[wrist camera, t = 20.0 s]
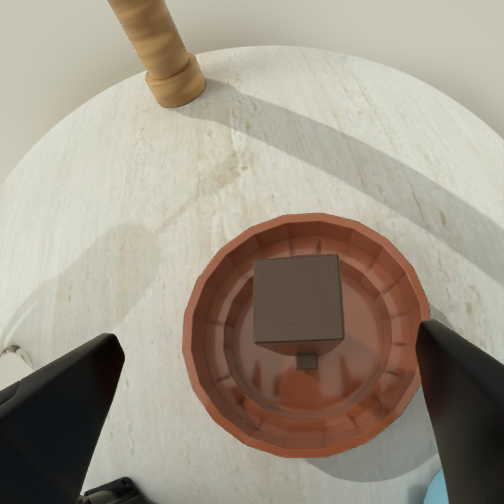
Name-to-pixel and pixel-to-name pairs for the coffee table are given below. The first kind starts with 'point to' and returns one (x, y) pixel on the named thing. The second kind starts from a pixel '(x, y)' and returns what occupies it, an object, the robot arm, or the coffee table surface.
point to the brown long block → (298, 306)
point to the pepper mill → (160, 51)
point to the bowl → (329, 365)
